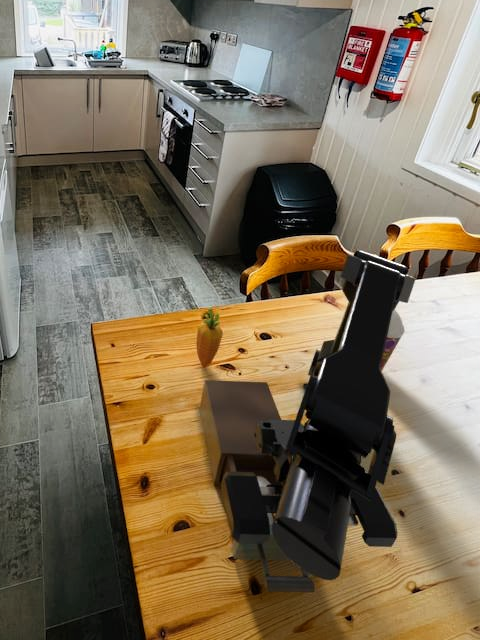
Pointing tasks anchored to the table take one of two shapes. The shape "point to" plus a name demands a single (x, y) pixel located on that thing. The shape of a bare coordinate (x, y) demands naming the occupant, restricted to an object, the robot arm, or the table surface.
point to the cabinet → (234, 419)
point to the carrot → (208, 338)
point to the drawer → (270, 547)
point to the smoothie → (392, 337)
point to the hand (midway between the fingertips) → (289, 544)
